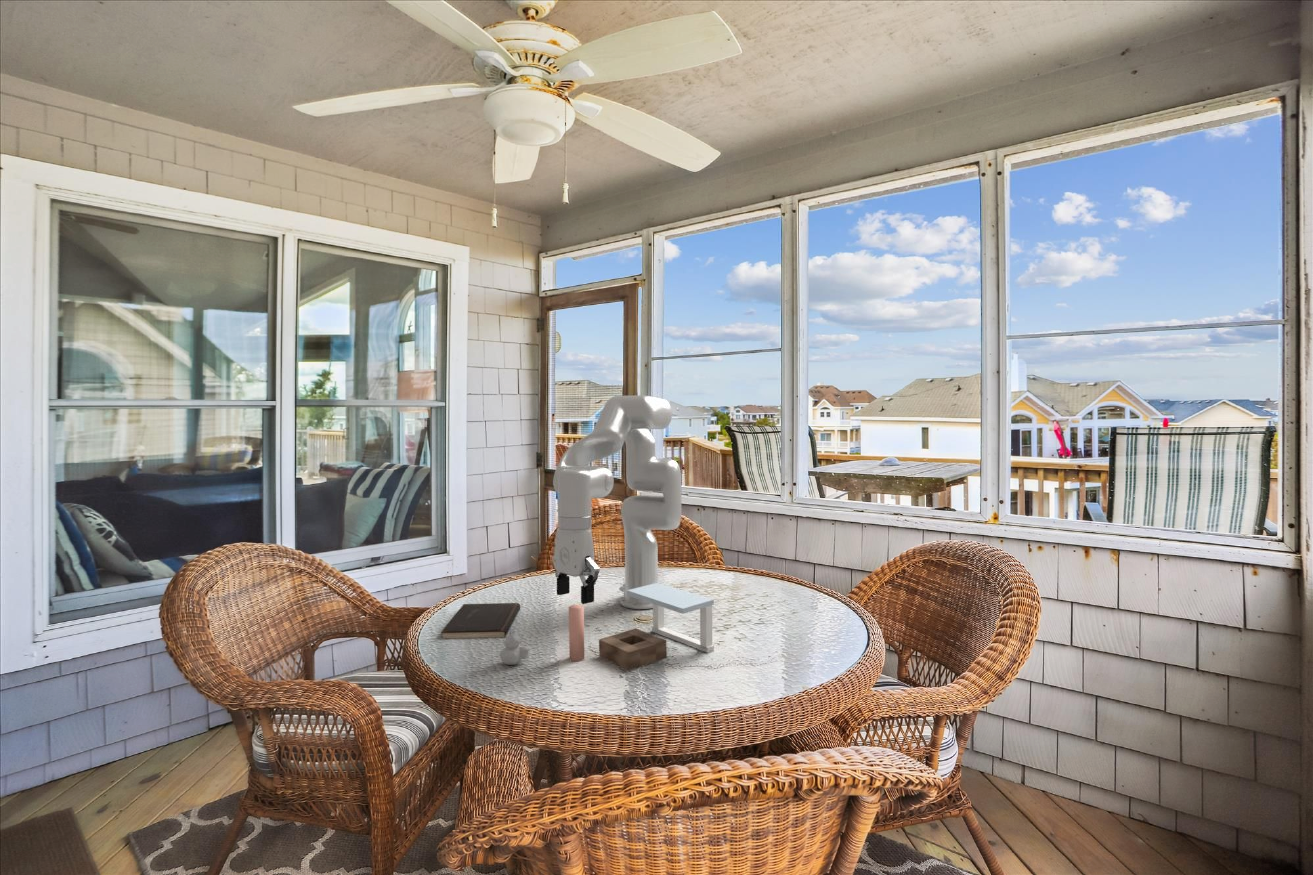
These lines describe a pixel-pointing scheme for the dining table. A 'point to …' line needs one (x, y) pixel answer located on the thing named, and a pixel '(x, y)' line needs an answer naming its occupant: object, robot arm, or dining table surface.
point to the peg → (576, 632)
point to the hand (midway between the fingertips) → (575, 598)
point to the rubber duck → (513, 650)
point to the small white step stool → (680, 603)
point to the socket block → (632, 649)
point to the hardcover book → (482, 620)
